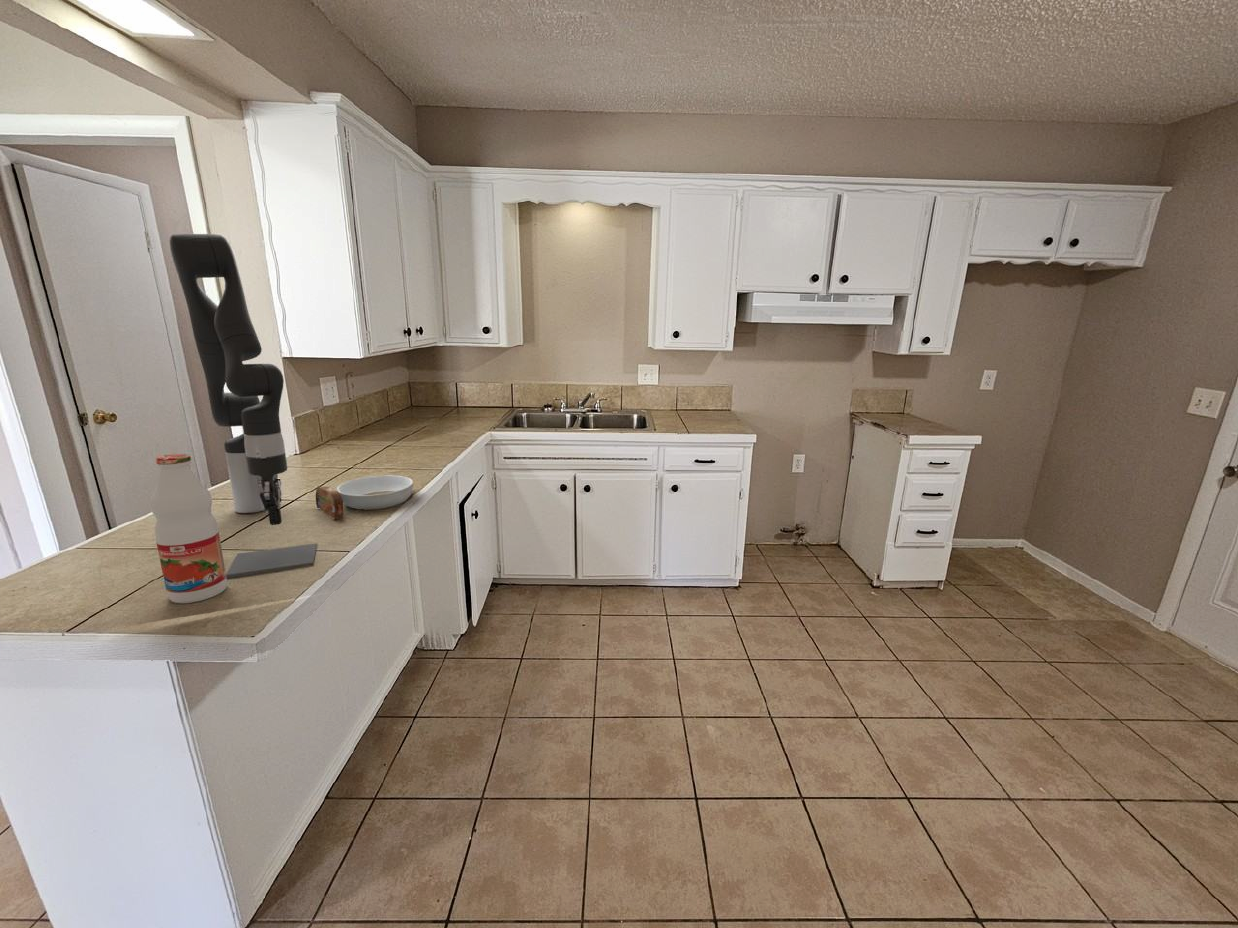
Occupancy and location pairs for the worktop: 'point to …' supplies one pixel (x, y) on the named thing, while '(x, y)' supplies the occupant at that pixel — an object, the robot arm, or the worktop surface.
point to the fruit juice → (186, 533)
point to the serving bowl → (359, 487)
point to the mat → (272, 560)
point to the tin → (330, 502)
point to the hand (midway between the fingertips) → (276, 523)
